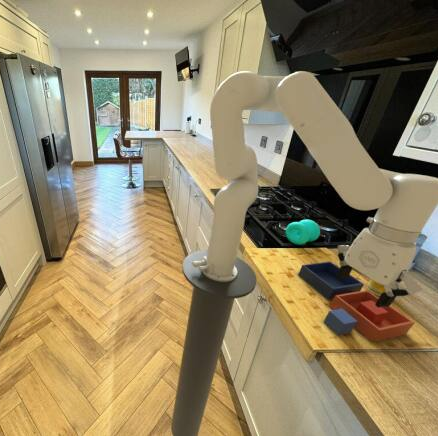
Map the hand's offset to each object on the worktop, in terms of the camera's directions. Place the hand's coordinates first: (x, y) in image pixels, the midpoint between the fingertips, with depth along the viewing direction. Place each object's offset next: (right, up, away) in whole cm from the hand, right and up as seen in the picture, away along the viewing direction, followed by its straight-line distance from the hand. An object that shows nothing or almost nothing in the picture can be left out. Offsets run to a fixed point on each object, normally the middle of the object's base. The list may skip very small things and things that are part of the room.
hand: (360, 291), depth 59 cm
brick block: (+10, -10, +9) cm, 17 cm away
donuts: (+15, +8, +47) cm, 50 cm away
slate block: (-1, -12, +6) cm, 13 cm away
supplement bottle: (+23, -6, +20) cm, 31 cm away
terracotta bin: (+10, -11, +9) cm, 17 cm away
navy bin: (+8, -4, +22) cm, 24 cm away
